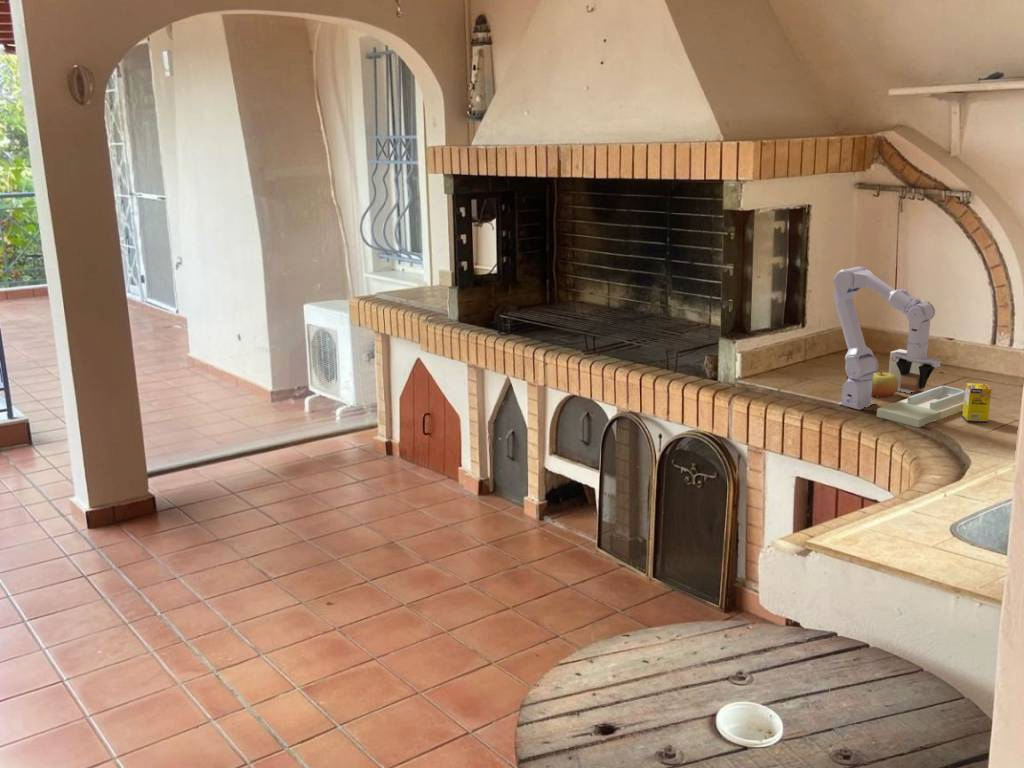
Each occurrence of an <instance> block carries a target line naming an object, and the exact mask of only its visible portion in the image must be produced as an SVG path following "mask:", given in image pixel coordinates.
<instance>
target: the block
mask: <svg viewBox="0 0 1024 768" xmlns="http://www.w3.org/2000/svg"><path fill="white" fill-rule="evenodd" d="M919 381H920V375H919V374H914V373H908V374H905V375H901V384H900V388H902V389H906V390H910V391H914V392H918V391H922V390H925V387H924V388H919ZM914 392H913V393H914Z"/></svg>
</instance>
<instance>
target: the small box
mask: <svg viewBox="0 0 1024 768" xmlns="http://www.w3.org/2000/svg"><path fill="white" fill-rule="evenodd" d="M894 352H902V353H907V349H906V350H905V349H902V348H899V349H895V350H892V351H890V354H889V363H888V364H889V365H888V366H889V367H888V373H891V374H893V375H895V377H896V378H897V381H898V389H897V391H896V392H900V391H901V392H900V393H904V392H906V394H911V392H912V393H914V391H910V390H906V389H902V388H900V384H901V374H900V371H899V368H898V366H897V365H896V362H898V361H899V359H893V353H894ZM919 366H922V364H919V363H914V362H912V365H911V368H910V373H914V374H919V375H920V372H919Z"/></svg>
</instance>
